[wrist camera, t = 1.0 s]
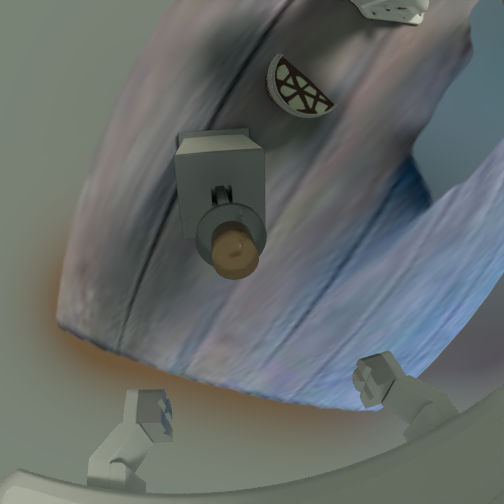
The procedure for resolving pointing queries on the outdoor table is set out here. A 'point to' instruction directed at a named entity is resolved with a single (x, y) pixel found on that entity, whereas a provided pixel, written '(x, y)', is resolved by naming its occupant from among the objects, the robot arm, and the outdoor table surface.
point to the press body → (217, 173)
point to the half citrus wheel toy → (295, 90)
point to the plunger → (230, 236)
